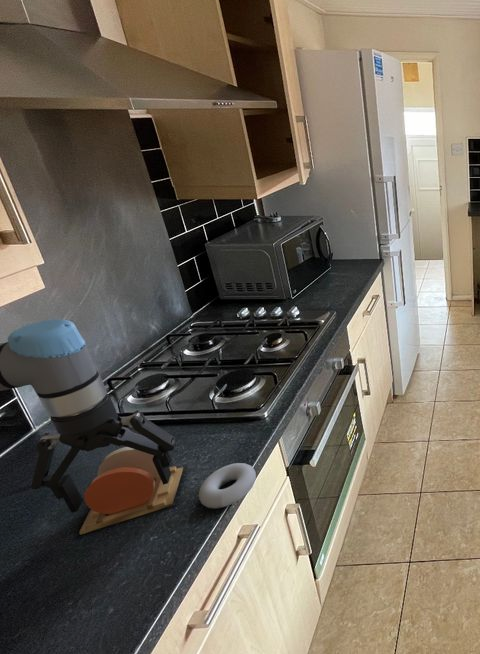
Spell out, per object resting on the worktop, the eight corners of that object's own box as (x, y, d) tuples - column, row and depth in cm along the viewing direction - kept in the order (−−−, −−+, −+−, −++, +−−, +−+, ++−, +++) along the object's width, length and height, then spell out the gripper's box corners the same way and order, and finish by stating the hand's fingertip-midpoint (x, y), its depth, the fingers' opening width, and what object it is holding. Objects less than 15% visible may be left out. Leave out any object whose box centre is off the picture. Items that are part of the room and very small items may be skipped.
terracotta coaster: (95, 522, 79) (74, 484, 75) (98, 517, 80) (77, 479, 76) (160, 501, 83) (143, 464, 80) (162, 496, 84) (145, 459, 81)
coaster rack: (80, 534, 77) (76, 528, 77) (100, 493, 86) (97, 486, 85) (172, 505, 83) (169, 499, 83) (183, 468, 92) (180, 462, 91)
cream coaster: (107, 497, 84) (89, 459, 80) (109, 492, 85) (91, 455, 81) (168, 479, 88) (153, 443, 85) (169, 475, 89) (155, 439, 86)
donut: (252, 463, 93) (198, 487, 87) (249, 452, 92) (193, 475, 86) (262, 493, 86) (203, 522, 80) (258, 481, 85) (199, 509, 79)
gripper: (172, 372, 80) (204, 455, 88) (-8, 413, 70) (46, 502, 78) (162, 395, 74) (198, 482, 82) (-38, 443, 64) (25, 536, 72)
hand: (124, 492), depth 80 cm, fingers open, 13 cm apart
